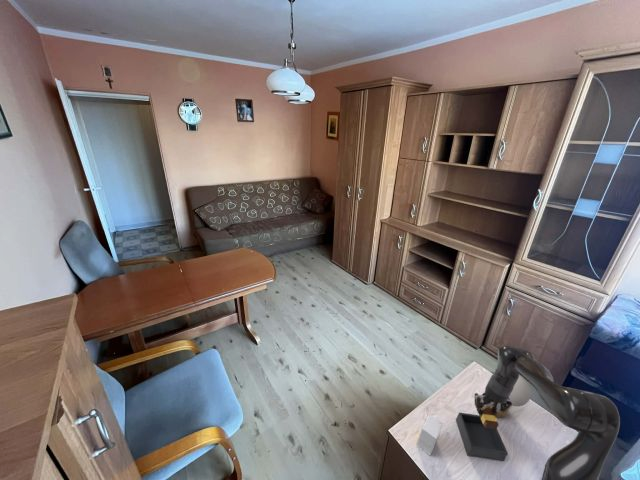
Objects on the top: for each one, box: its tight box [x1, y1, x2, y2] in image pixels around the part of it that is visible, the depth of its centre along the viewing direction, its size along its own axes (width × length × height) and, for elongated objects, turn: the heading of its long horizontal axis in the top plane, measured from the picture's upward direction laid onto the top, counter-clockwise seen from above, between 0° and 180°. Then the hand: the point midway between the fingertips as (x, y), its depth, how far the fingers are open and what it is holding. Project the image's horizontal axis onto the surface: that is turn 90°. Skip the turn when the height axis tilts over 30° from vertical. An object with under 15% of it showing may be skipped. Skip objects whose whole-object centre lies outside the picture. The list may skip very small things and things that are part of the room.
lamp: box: [490, 375, 532, 419], centre depth 125 cm, size 15×14×25 cm
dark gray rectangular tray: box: [455, 412, 509, 462], centre depth 117 cm, size 15×15×6 cm
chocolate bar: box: [474, 403, 500, 430], centre depth 110 cm, size 10×5×3 cm, turn 173°
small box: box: [415, 413, 444, 457], centre depth 113 cm, size 8×6×13 cm
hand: (485, 413), depth 110 cm, fingers closed on chocolate bar, 4 cm apart
